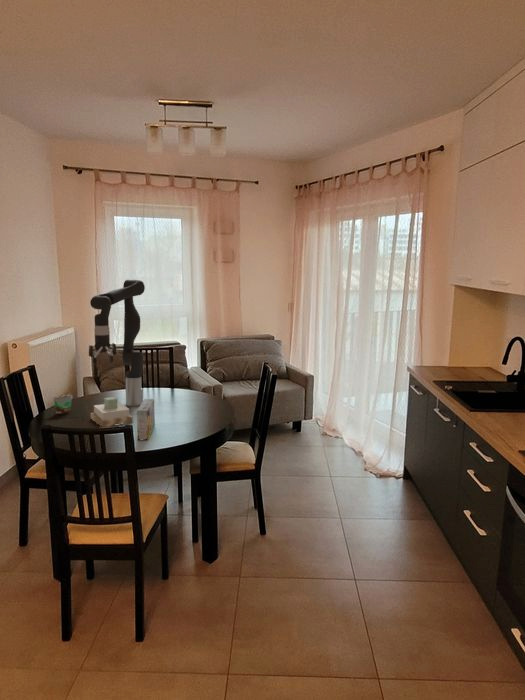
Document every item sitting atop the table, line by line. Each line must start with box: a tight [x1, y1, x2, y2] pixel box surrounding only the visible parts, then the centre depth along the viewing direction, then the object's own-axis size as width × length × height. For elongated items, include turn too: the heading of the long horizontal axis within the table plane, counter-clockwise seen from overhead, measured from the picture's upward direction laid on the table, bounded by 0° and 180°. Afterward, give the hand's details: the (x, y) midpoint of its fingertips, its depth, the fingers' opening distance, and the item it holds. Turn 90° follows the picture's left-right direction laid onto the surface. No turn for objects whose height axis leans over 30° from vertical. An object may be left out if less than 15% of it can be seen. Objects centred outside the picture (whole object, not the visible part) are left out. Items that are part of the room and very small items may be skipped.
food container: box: [53, 392, 73, 415], centre depth 253 cm, size 12×6×10 cm, turn 168°
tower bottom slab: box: [90, 412, 134, 428], centre depth 242 cm, size 16×18×4 cm
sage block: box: [103, 396, 118, 409], centre depth 241 cm, size 5×5×5 cm
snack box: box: [136, 398, 156, 440], centre depth 224 cm, size 21×6×15 cm, turn 5°
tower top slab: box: [93, 401, 130, 420], centre depth 242 cm, size 14×16×4 cm
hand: (103, 363), depth 243 cm, fingers open, 8 cm apart
